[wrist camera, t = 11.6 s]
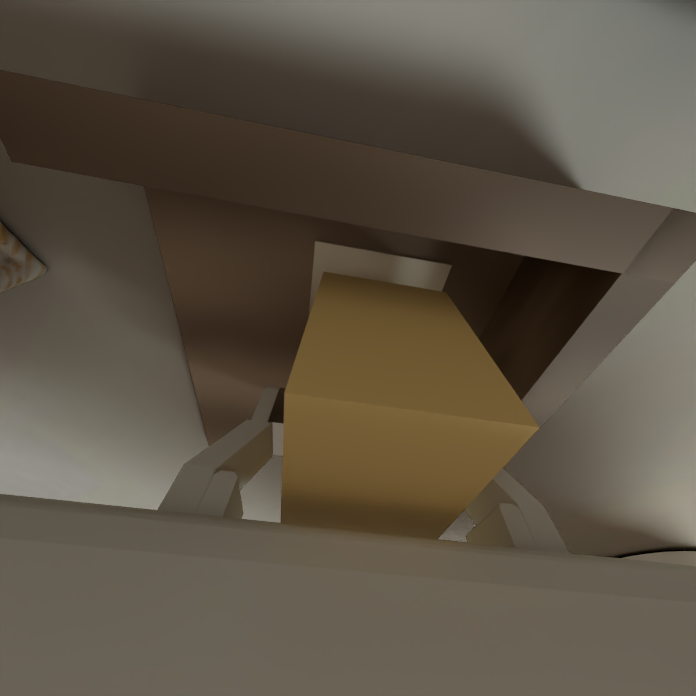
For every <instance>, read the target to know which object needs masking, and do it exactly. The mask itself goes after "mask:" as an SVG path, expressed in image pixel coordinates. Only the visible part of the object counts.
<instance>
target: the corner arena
mask: <svg viewBox="0 0 696 696" xmlns="http://www.w3.org/2000/svg"><path fill="white" fill-rule="evenodd" d="M0 138H1V140H2V142H3V144H4V146H5V148H6V151H7V153H8V155H9V157H10V159H11V161H12V162H17V163H23V164H28V165H34V166H39V167H44V168H50V169H55V170H61V171H66V172H72V173H77V174H83V175H88V176H93V177H99V178H104V179H110V180H115V181H121V182H126V183H132V184H137V185H143V186H144V188H145V192H146V196H147V200H148V204H149V208H150V212H151V216H152V220H153V224H154V228H155V232H156V236H157V240H158V244H159V248H160V252H161V256H162V260H163V264H164V268H165V272H166V276H167V280H168V284H169V288H170V292H171V296H172V300H173V304H174V308H175V312H176V316H177V320H178V324H179V328H180V332H181V336H182V340H183V344H184V348H185V352H186V356H187V360H188V364H189V368H190V372H191V376H192V380H193V384H194V388H195V392H196V396H197V400H198V404H199V408H200V412H201V416H202V420H203V424H204V428H205V432H206V436H207V440H208V444H209V445H210V446H211V445H212V444H214V443H215V442H216V441H218V440H219V439H221V438H222V437H223V436H225V435H226V434H228V433H229V432H230V431H232V430H233V429H235V428H236V427H237V426H239V425H240V424H242V423H243V422H244V421H246V420H251V419H252V417H253V415H254V412H255V410H256V407H257V405H258V403H259V400H260V398H261V395H262V393H263V391H264V388H265V387H266V386H273V387H279V388H280V387H281V388H286V386H287V383H288V380H289V377H290V374H291V371H292V368H293V365H294V361H295V358H296V355H297V352H298V349H299V346H300V343H301V340H302V337H303V334H304V331H305V327H306V324H307V321H308V318H309V315H310V312H311V309H312V306H313V303H314V300H315V297H316V294H317V290H318V287H319V284H320V281H321V278H322V275H323V272H330V273H336V274H342V275H348V276H353V277H359V278H365V279H371V280H377V281H383V282H389V283H395V284H401V285H407V286H413V287H419V288H425V289H430V290H436V291H442V292H446V293H447V294H448V296H449V297H450V299H451V300H452V301H453V303H454V304H455V306H456V307H457V309H458V310H459V312H460V313H461V314H462V316H463V317H464V319H465V320H466V322H467V323H468V325H469V326H470V327H471V329H472V330H473V332H474V333H475V335H476V336H477V338H478V339H479V340H480V342H481V343H482V345H483V346H484V348H485V349H486V351H487V352H488V353H489V355H490V356H491V358H492V359H493V361H494V362H495V364H496V365H497V366H498V368H499V369H500V371H501V372H502V374H503V375H504V377H505V378H506V379H507V381H508V382H509V384H510V385H511V387H512V388H513V390H514V391H515V392H516V394H517V395H518V397H519V398H520V400H521V401H522V403H523V404H524V405H525V407H526V408H527V410H528V411H529V413H530V414H531V416H532V417H533V418H534V420H535V421H536V423H537V424H538V426H539V427H541V426H542V425H543V424H544V423H545V422H546V421H547V420H548V419H549V418H550V417H551V416H552V414H553V413H554V412H555V411H556V410H557V409H558V408H559V407H560V406H561V405H562V404H563V403H564V402H565V401H566V399H567V398H568V397H569V396H570V395H571V394H572V393H573V392H574V391H575V390H576V389H577V388H578V387H579V386H580V384H581V383H582V382H583V381H584V380H585V379H586V378H587V377H588V376H589V375H590V374H591V373H592V372H593V370H594V369H595V368H596V367H597V366H598V365H599V364H600V363H601V362H602V361H603V360H604V359H605V358H606V357H607V355H608V354H609V353H610V352H611V351H612V350H613V349H614V348H615V347H616V346H617V345H618V344H619V343H620V342H621V340H622V339H623V338H624V337H625V336H626V335H627V334H628V333H629V332H630V331H631V330H632V329H633V328H634V327H635V325H636V324H637V323H638V322H639V321H640V320H641V319H642V318H643V317H644V316H645V315H646V314H647V313H648V311H649V310H650V309H651V308H652V307H653V306H654V305H655V304H656V303H657V302H658V301H659V300H660V299H661V298H662V296H663V295H664V294H665V293H666V292H667V291H668V290H669V289H670V288H671V287H672V286H673V285H674V284H675V283H676V281H677V280H678V279H679V278H680V277H681V276H682V275H683V274H684V273H685V272H686V271H687V270H688V269H689V267H690V266H691V265H692V264H693V263H694V262H695V261H696V213H694V212H689V211H685V210H680V209H675V208H670V207H665V206H660V205H655V204H650V203H646V202H641V201H636V200H631V199H626V198H621V197H616V196H611V195H607V194H602V193H597V192H592V191H587V190H582V189H577V188H572V187H568V186H563V185H558V184H553V183H548V182H543V181H538V180H533V179H529V178H524V177H519V176H514V175H509V174H504V173H499V172H495V171H490V170H485V169H480V168H475V167H470V166H465V165H460V164H456V163H451V162H446V161H441V160H436V159H431V158H426V157H421V156H417V155H412V154H407V153H402V152H397V151H392V150H387V149H382V148H378V147H373V146H368V145H363V144H358V143H353V142H348V141H344V140H339V139H334V138H329V137H324V136H319V135H314V134H309V133H305V132H300V131H295V130H290V129H285V128H280V127H275V126H270V125H266V124H261V123H256V122H251V121H246V120H241V119H236V118H231V117H227V116H222V115H217V114H212V113H207V112H202V111H197V110H193V109H188V108H183V107H178V106H173V105H168V104H163V103H158V102H154V101H149V100H144V99H139V98H134V97H129V96H124V95H119V94H115V93H110V92H105V91H100V90H95V89H90V88H85V87H80V86H76V85H71V84H66V83H61V82H56V81H51V80H46V79H42V78H37V77H32V76H27V75H22V74H17V73H12V72H7V71H3V70H0ZM537 431H538V430H537ZM537 431H536V432H537ZM536 432H535V433H536ZM535 433H534V434H535ZM534 434H533V435H534ZM524 445H525V444H524ZM524 445H523V446H524ZM523 446H522V447H523Z"/></svg>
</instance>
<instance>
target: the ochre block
mask: <svg viewBox="0 0 696 696" xmlns="http://www.w3.org/2000/svg"><path fill="white" fill-rule="evenodd" d="M539 428H540V427H539V426H538V424H537V423H536V421H535V420H534V418H533V417H532V416H531V414H530V413H529V411H528V410H527V408H526V407H525V405H524V404H523V403H522V401H521V400H520V398H519V397H518V395H517V394H516V392H515V391H514V390H513V388H512V387H511V385H510V384H509V382H508V381H507V379H506V378H505V377H504V375H503V374H502V372H501V371H500V369H499V368H498V366H497V365H496V364H495V362H494V361H493V359H492V358H491V356H490V355H489V353H488V352H487V351H486V349H485V348H484V346H483V345H482V343H481V342H480V340H479V339H478V338H477V336H476V335H475V333H474V332H473V330H472V329H471V327H470V326H469V325H468V323H467V322H466V320H465V319H464V317H463V316H462V314H461V313H460V312H459V310H458V309H457V307H456V306H455V304H454V303H453V301H452V300H451V299H450V297H449V296H448V294H447V293H446V292H442V291H436V290H430V289H425V288H419V287H413V286H407V285H401V284H395V283H389V282H383V281H377V280H371V279H365V278H359V277H353V276H348V275H342V274H336V273H330V272H323V275H322V278H321V281H320V284H319V287H318V290H317V294H316V297H315V300H314V303H313V306H312V309H311V312H310V315H309V318H308V321H307V324H306V327H305V331H304V334H303V337H302V340H301V343H300V346H299V349H298V352H297V355H296V358H295V361H294V365H293V368H292V371H291V374H290V377H289V380H288V383H287V386H286V389H285V392H284V424H283V460H282V496H281V523H286V524H295V525H305V526H315V527H324V528H334V529H344V530H353V531H363V532H372V533H382V534H392V535H401V536H411V537H420V538H430V539H438V538H439V537H440V536H441V535H442V534H443V532H444V531H445V530H446V529H447V528H448V527H449V526H450V525H451V524H452V523H453V522H454V520H455V519H456V518H457V517H458V516H459V515H460V514H461V513H462V512H463V511H464V510H465V509H466V507H467V506H468V505H469V504H470V503H471V502H472V501H473V500H474V499H475V498H476V497H477V495H478V494H479V493H480V492H481V491H482V490H483V489H484V488H485V487H486V486H487V485H488V483H489V482H490V481H491V480H492V479H493V478H494V477H495V476H496V475H497V474H498V473H499V471H500V470H501V469H502V468H503V467H504V466H505V465H506V464H507V463H508V462H509V461H510V460H511V458H512V457H513V456H514V455H515V454H516V453H517V452H518V451H519V450H520V449H521V448H522V446H523V445H524V444H525V443H526V442H527V441H528V440H529V439H530V438H531V437H532V436H533V434H534V433H535V432H536V431H537V430H538V429H539Z"/></svg>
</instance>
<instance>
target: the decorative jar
mask: <svg viewBox="0 0 696 696" xmlns="http://www.w3.org/2000/svg"><path fill="white" fill-rule="evenodd" d="M45 272H46V267H45V265H44V264H42V263H41V262H40V261H39V260H38V259H36V258H35V257H34V256H33V255H32V254H31V253H30V252H29V251H28V250H27V249H26V248H25V247H24V246H23V245H22V244H21V243H20V242H19V240H18V239H17V238H16V237H15V236H14V235H13V234H11V233H10V232H9V231H8V230H7V229H6V228H5V226H4V225H3V224H2V223H1V221H0V293H1V292H3V291H5V290H8V289H11V288H14V287H16V286H19V285H21V284H23V283H26V282H30V281H32V280H34V279H36V278H38V277H40V276H42V275H43V274H44V273H45Z"/></svg>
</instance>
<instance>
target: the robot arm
mask: <svg viewBox="0 0 696 696" xmlns="http://www.w3.org/2000/svg"><path fill="white" fill-rule="evenodd" d="M285 389H286V388H281V387H280V388H279V387H273V386H266V387H265V388H264V391H263V393H262V395H261V398H260V400H259V403H258V405H257V407H256V410H255V412H254V415H253V417H252V419H251V420H246V421H244V422H243V423H242V424H240V425H239V426H237V427H236V428H235V429H233V430H232V431H230V432H229V433H228V434H226V435H225V436H223V437H222V438H221V439H219V440H218V441H216V442H215V443H214V444H212V445H211V446H209V447H208V448H207V449H205V450H204V451H202V452H201V453H199V454H198V455H197V456H195V457H194V458H192V459H191V460H190V461H188V462H187V463H185V464H184V465H183V467H182V469H181V471H180V472H179V474H178V476H177V477H176V479H175V481H174V482H173V484H172V486H171V488H170V489H169V491H168V493H167V494H166V496H165V498H164V500H163V501H162V503H161V505H160V506H159V508H158V510H151V509H141V508H132V507H122V506H112V505H103V504H93V503H83V502H74V501H64V500H54V499H45V498H35V497H26V496H16V495H6V494H0V696H696V551H673V552H659V553H649V554H642V555H635V556H629V557H624V558H612V557H603V556H593V555H583V554H574V553H569V551H568V549H567V547H566V546H565V544H564V542H563V540H562V538H561V536H560V535H559V533H558V531H557V529H556V527H555V525H554V523H553V522H552V520H551V518H550V516H549V514H548V512H547V511H546V509H545V507H544V506H543V505H542V504H541V503H540V502H539V501H538V500H537V499H536V498H534V497H533V496H532V495H531V494H530V493H529V492H528V491H527V490H526V489H525V488H524V487H523V486H522V485H521V484H519V483H518V482H517V481H516V480H515V479H514V478H513V477H512V476H511V475H510V474H509V473H508V472H507V471H506V470H504V469H503V468H502V469H501V470H500V471H499V473H498V474H497V475H496V476H495V477H494V478H493V479H492V480H491V481H490V482H489V483H488V485H487V486H486V487H485V488H484V489H483V490H482V491H481V492H480V493H479V494H478V495H477V497H476V498H475V499H474V500H473V501H472V502H471V503H470V504H469V505H468V506H467V507H466V509H465V510H466V511H467V513H468V514H469V515H470V517H471V518H472V520H473V521H474V522H475V524H476V525H477V526H476V527H474V528H473V529H472V530H471V531H470V532H469V533H468V535H467V536H466V539H467V542H459V541H449V540H439V539H430V538H420V537H411V536H401V535H392V534H382V533H372V532H363V531H353V530H344V529H334V528H324V527H315V526H305V525H295V524H286V523H276V522H267V521H257V520H247V519H242V516H243V508H242V502H241V495H240V490H241V489H242V488H243V487H244V485H245V484H246V483H247V482H248V481H249V480H250V479H251V478H252V477H253V476H254V475H255V474H256V473H257V472H258V471H259V470H260V469H261V468H262V467H263V466H264V464H265V463H266V462H267V461H268V460H269V459H270V458H271V457H272V455H279V456H283V424H284V392H285Z"/></svg>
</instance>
